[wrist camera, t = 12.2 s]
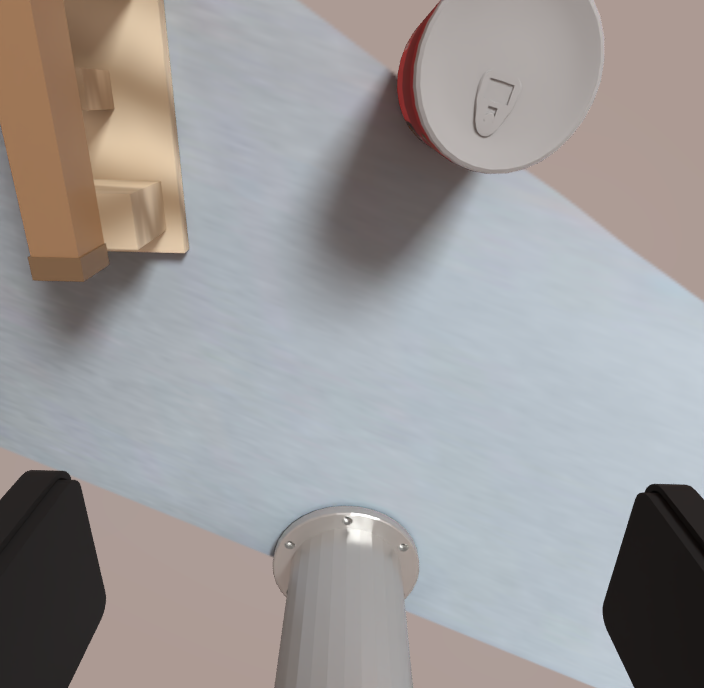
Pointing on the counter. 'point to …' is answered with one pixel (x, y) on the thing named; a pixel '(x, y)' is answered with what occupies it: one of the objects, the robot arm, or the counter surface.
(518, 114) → the canned food
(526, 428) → the counter surface
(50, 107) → the frame bar
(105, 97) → the display stand
